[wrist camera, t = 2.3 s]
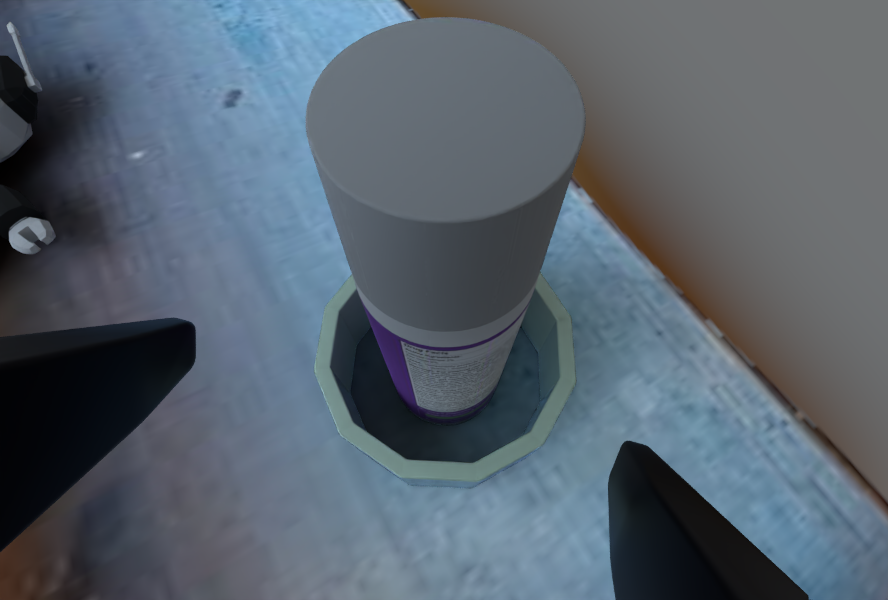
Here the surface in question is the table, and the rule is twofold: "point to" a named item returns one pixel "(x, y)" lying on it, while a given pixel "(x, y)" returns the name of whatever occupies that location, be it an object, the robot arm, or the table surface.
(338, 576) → the table surface
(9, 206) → the robot toy
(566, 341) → the pale green faceted ring
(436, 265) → the container
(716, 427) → the table surface
